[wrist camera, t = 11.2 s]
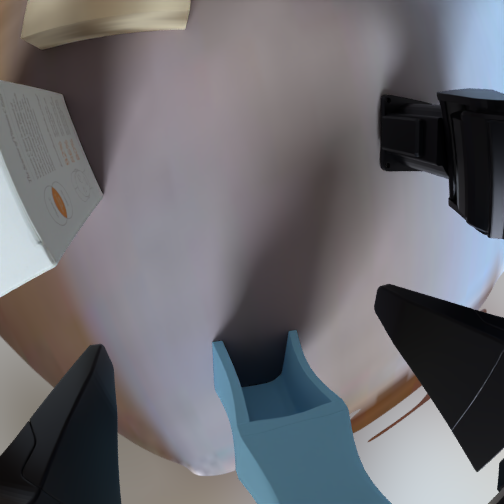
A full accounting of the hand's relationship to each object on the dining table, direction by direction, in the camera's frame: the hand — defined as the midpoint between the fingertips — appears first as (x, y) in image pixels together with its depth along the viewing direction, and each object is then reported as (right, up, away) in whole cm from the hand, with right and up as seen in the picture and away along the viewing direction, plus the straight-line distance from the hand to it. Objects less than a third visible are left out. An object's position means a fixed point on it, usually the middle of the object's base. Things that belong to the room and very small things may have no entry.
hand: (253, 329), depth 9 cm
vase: (0, -9, +19) cm, 21 cm away
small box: (-13, +8, +7) cm, 17 cm away
